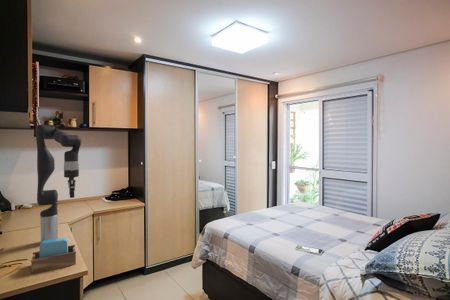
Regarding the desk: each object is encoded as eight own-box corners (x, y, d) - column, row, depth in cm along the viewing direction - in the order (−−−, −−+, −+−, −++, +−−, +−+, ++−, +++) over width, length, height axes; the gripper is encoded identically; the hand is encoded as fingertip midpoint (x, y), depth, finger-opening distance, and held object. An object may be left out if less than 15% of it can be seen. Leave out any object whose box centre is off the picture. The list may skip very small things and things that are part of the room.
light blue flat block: (68, 259, 142) (67, 236, 142) (67, 262, 138) (67, 239, 138) (41, 263, 137) (40, 240, 136) (39, 267, 133) (39, 243, 132)
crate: (32, 264, 137) (32, 252, 137) (74, 256, 147) (74, 244, 147) (31, 273, 127) (30, 260, 127) (76, 264, 137) (76, 252, 137)
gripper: (63, 168, 159) (64, 194, 160) (64, 170, 147) (64, 199, 147) (77, 167, 163) (78, 193, 164) (79, 169, 151) (79, 197, 151)
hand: (71, 196), depth 156 cm, fingers open, 8 cm apart
